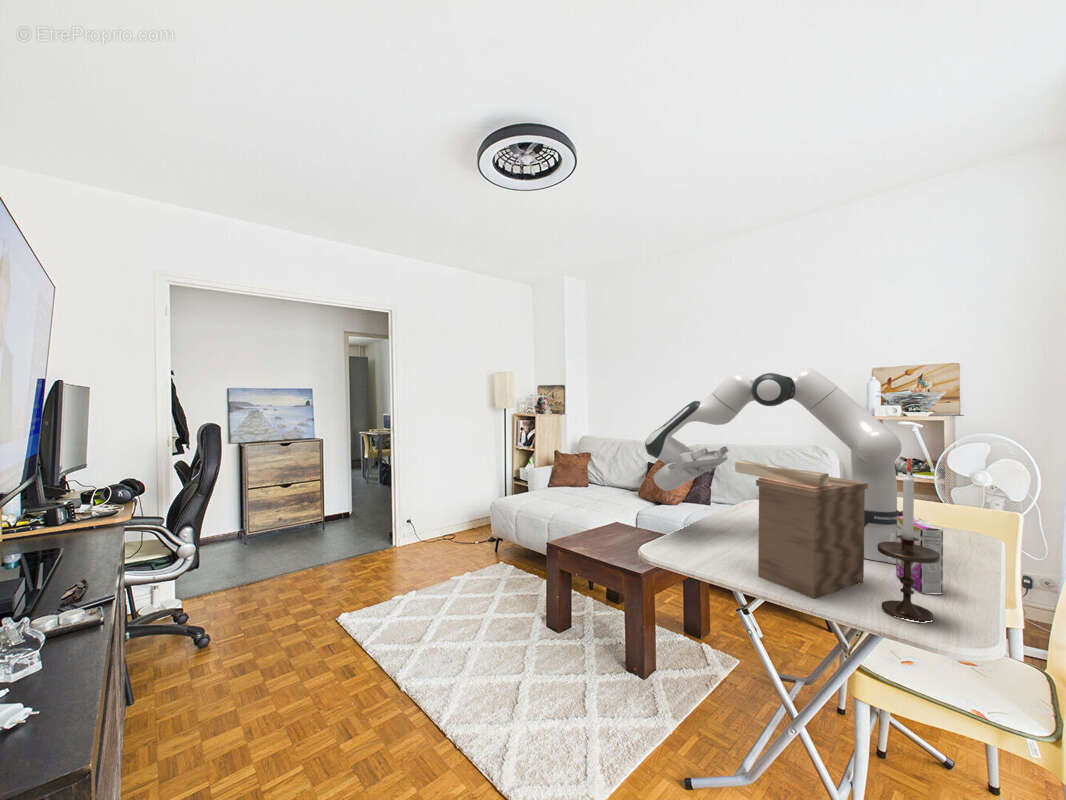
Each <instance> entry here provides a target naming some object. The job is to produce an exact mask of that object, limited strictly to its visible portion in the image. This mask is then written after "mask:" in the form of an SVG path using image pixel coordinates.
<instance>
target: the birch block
mask: <svg viewBox="0 0 1066 800" xmlns="http://www.w3.org/2000/svg"><path fill="white" fill-rule="evenodd" d="M734 468H735V469H734V470H735V473H740V474H745V475H748V476H749V475H750V476H754V477H759V478H761V477H765V478H771V479H776V480H782V481H787V482H792V483H798V484H803V485H809V486H814V487H824V486H829V477H830V476H829V473H827V472H820V471H814V470H808V469H803V468H798V467H797V468H796V467H790V466H784V465H779V464H778V465H777V464H768V463H763V462H755V461H751V460H750V461H749V460H739V461H735V463H734Z"/></svg>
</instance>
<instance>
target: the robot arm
mask: <svg viewBox="0 0 1066 800" xmlns="http://www.w3.org/2000/svg"><path fill="white" fill-rule="evenodd" d="M789 400H794V401H796V402H797V403H799V404H800V405H801V406H803V408H805V409H806V411H808V412H809V413H810V414H811V415H812V416H814V417H815V419H817V420H818V421H819V422H820V423H821V424H822V425H823V426H825V428H827V429H828V430H829V431H830V432H831V433H832V434H833V435H834V436H836V437H837V438H838V439H839V440H840V441H841V442H842V443H844V444H845V445H846V446H847V447H848V448H849V449H850V461H851V478H852V479H851V480H852V481H859V482H865V483H868V489H865V504H864V559H867V560H872V561H876V562H882V563H883V562H884V563H889V564H894V565H896V558H892V557H889V556H886V555H884V554H882V553H880V552H879V551H878V543H881V542H896V539H897V537H896V535H897V516H903V510H901V511H899V510H898V480H897V472H896V460H898V458H899V457H900V455H901V452H902V447H903V446H902V442H901V439H900V438H899V436H898V435H897V434H895V433H894V432H893V431H892V430H890V429H889V428H888V426H886V425H885V424H884V423H882V422H881V421H880V420H879V419H877V418H876V417H875V416H874V415H872V414H871V413H870V412H869V411H868V410H866V409H865V408H863V407H862V406H861V405H860V404H859V403H858V402H856V401H855V399H853V398H851V396H849V395H848V394H847V393H846V392H845V391H844V390H842V389H841V388H840V387H839V386H837V385H836V384H835V383H834V382H832V381H831V380H830V379H828V378H827V377H825V376H824V375H822V374H821V373H819V372H817V371H816V370H813V369H811V368H804V369H801V370H799V371H797V372H795V373H794V374H792V375H791V376H786V375H782V374H781V373H777V372H767V373H763V374H760V375H759V376H758V377H756V378H754V379H753V378H750V377H748V376H747V375H745V374H742V373H733V374H731V375H730V376H729V377H727V378H726V379H725V380H723V381H722V382H721V383H720V384H719V385H718V386H717V387H716V388H715V389H714V390H713V391H712V392H711V394H710V395H708V396H707V397H705V398H704V399H702V400H694V401H691V402H690V403H689V404H687V405H686V406H684V407H683V408H681V410H679V411H678V412H677V413H676V414H675V415H674V416H673V417H671V418H670V419H669V420H668V421H666V422H665V423H664V424H663V425H661V426H659V427H658V428H657V429H655V430H654V431H653V432H651V433H650V434H649V436H648V437H646V440H645V443H644V447H645V451H646V453H647V454H648V455H649V456H651V457H653V458H655V459H657V460H659V461H661V462H662V463H663V464H665V465H663V466H662V467H660V469H658V470H657V471H656V472H655V473H654V475H653V482H654V483H655V485H656V486H657V487H658V488H659V489H661V490H662V491H672V490H676V489H677V488H679V487H682V486H683V485H684V484H685V483H686V482H690V481H692V480H693V479H696V478H698V477H700V476H702V475H706V474H709V473H711V472H712V470H713V469H715V468H717V467H718V466H720V465H722V464H723V463H724V462H726V461H727V460H728V457H729V456H728V454H727V453H728V452H729V450H730V449H729V448H728V446H726V445H725V446H722V447H720V448H719V449H711V450H708V449H707V448H702V449H700V450H697V451H693V450H692V449H691V448H690V447H688V446H687V445H686V444H684V443H682V442H680V441H679V440H677V439H676V438H674V437H673V436H674V435H675V434H676V433H677V432H678V431H679V430H681V429H682V428H683V427H684V426H685V425H687V424H689V423H692V422H699V423H700V422H701V423H705V424H709V425H715V426H720V425H721V426H722V425H727V424H729V423H730V422H732V421H733V420H734V419H735V418H736V417H737V415H739V413H741V411H742V410H743V408H744V407H745V406H747V405H748V404H750V403H751V402H755V401H756V403H758V404H760V405H762V406H766V407H776V406H779V405H781V404H783V403H785V402H787V401H789Z"/></svg>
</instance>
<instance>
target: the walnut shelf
mask: <svg viewBox="0 0 1066 800" xmlns="http://www.w3.org/2000/svg"><path fill="white" fill-rule="evenodd" d="M755 486H757V487H758V550H757V551H758V555H757V556H758V559H757V560H758V561H757V562H758V564H757V565H758V570H757V572H758V573H757V574H758V576H757V577H758V578H761V579H764V580H766V581H769V582H771V583H773V582H774V584H777V585H778V584H779V586H781V585H782V586H781V587H783V586H784V588H786V587H787V588H786V589H788V588H789V589H788V590H791V589H792V590H791V591H793V590H794V591H793V592H795V593H798V592H799V594H801V595H803V594H804V596H806V597H808V596H809V597H808V598H810V597H811V599H814V600H815V599H817V598H820V597H823V596H826V595H830V594H832V593H835V592H838V591H841V589H842V590H845V589H847V587H848V588H850V586H851V587H853V585H854V586H857V585H860V584H862V583H864V582H865V581H864V579H865V578H864V577H865V576H864V575H865V573H864V570H865V566H864V565H865V563H864V562H865V558H864V504H865V489H868V483H865V482H859V481H852V479H851V480H850V479H846V478H845V479H844V478H839V477H832V476H829V486H824V487H814V486H809V485H803V484H798V483H792V482H787V481H782V480H776V479H771V478H765V477H758V479H756V480H755ZM859 583H860V584H859ZM856 584H857V585H856ZM844 588H845V589H844Z"/></svg>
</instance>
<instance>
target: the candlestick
mask: <svg viewBox="0 0 1066 800" xmlns="http://www.w3.org/2000/svg"><path fill="white" fill-rule="evenodd" d="M906 463H907V465H906V471H907V472H906V475H905V477H903V480H902V482H903V484H902V486H903V488H902V511H903V535H898V536H897V537H898V538H900V539H902V543H901V542H881V543H878V551H879V552H880V553H882V554H884V555H886V556H889V557H892V558H896V559H899V560H902V561H904V576H902V577H900V578H899V577H898V579H899V582H900V583H901V584H902V588H900V589H899V590H900V592H901V593H902V595H903V596H902V600H891V599H890V600H885V601H882V603H881V610H882V609H883V610H884V611H883V610H882V611H883V612H884V613H886V614H887V615H888V614H889V615H888V616H890V615H891V616H890V617H892V616H896V617H899V618H904V619H909V620H914V621H919V622H925V621H931V620H933V621H934V619H933V618H934V614H933V613H932V612H931V611H930V610H928V609H926V607H923V606H921V605H917V604H915V603H913V602H912V595H914V594H915V591H914V590H912V589H913V587H912V586H913V585H914V584H915V580H914V579H913V578H911V562H917V563H936V562H939V561H940V554H939V553H938V552H936V551H934V550H932V549H929V548H926V547H922V546H918V545H914V541H919V539H918V538H915V537H913V522H914V517H915V516H914V514H915V513H914V510H915V509H914V508H915V507H914V505H915V496H914V495H915V478H914V477H912V475H911V471H912V470H911V469H912V468H913V467H912V462H911V457H908V459H907V460H906Z"/></svg>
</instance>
